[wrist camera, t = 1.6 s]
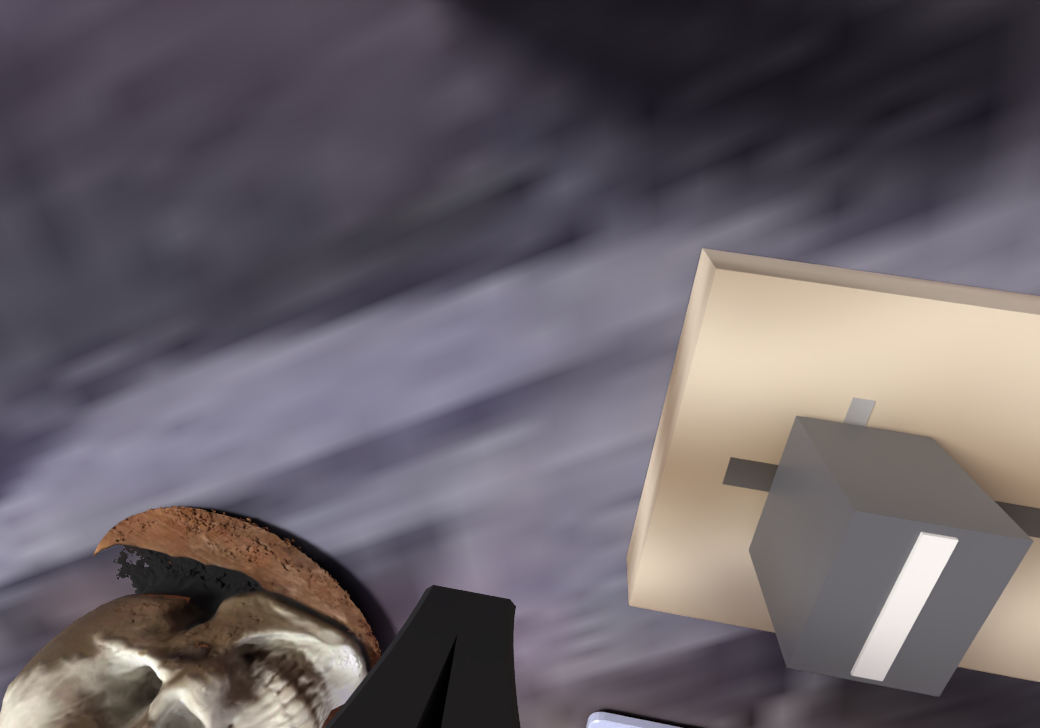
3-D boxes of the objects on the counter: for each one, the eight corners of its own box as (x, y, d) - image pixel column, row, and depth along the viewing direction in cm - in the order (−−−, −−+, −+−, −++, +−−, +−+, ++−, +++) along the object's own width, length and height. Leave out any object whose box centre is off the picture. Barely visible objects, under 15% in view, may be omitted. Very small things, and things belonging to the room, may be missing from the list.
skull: (383, 531, 18) (284, 958, 14) (425, 560, 28) (372, 823, 24) (18, 474, 19) (-177, 872, 15) (181, 522, 28) (89, 773, 24)
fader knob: (867, 571, 15) (941, 699, 12) (748, 549, 15) (787, 670, 12) (931, 437, 13) (1036, 544, 10) (796, 415, 14) (856, 513, 10)
